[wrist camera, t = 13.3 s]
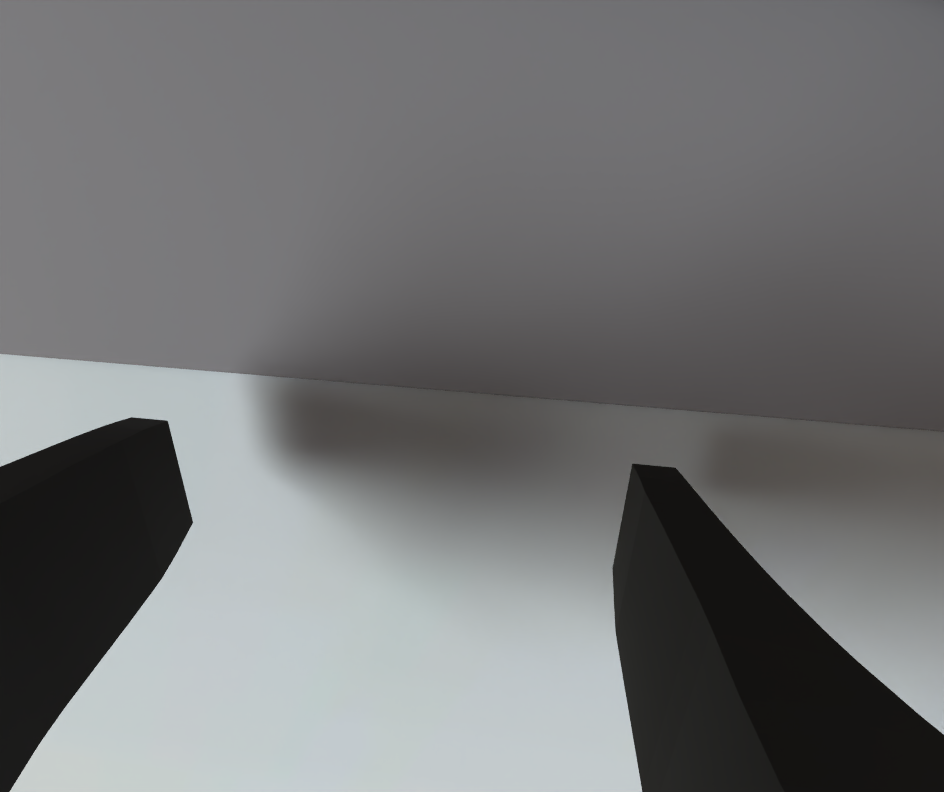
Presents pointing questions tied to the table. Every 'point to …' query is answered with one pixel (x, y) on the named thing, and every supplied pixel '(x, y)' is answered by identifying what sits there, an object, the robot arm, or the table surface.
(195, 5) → the charcoal mat
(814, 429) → the table surface
